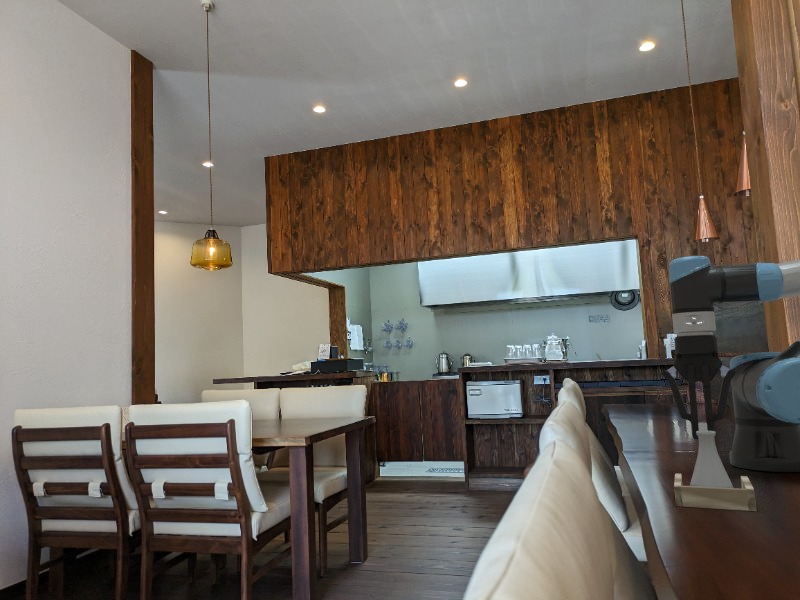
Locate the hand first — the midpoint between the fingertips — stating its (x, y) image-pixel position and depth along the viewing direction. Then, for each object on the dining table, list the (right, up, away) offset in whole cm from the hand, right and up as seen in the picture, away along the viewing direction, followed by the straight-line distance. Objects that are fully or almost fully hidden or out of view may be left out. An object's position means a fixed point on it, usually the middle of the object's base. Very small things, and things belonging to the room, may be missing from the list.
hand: (705, 456), depth 112 cm
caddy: (-8, -2, -17) cm, 19 cm away
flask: (-4, -3, -10) cm, 11 cm away
